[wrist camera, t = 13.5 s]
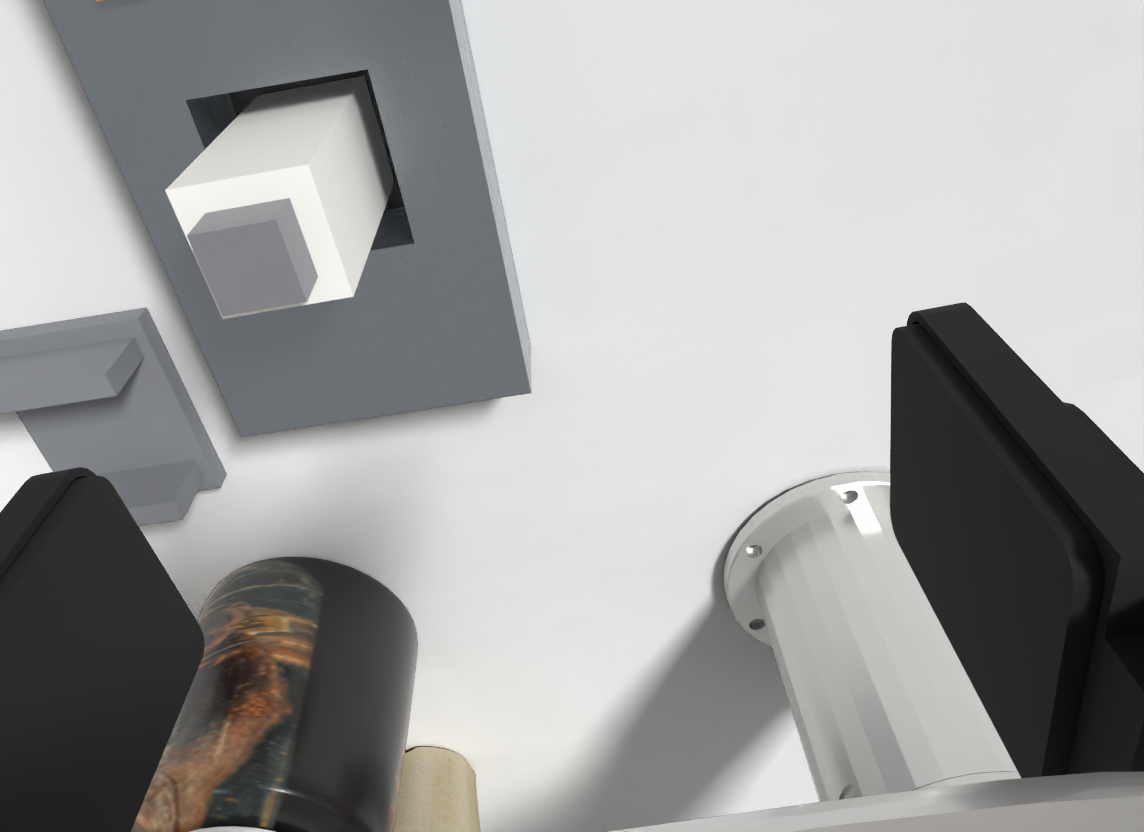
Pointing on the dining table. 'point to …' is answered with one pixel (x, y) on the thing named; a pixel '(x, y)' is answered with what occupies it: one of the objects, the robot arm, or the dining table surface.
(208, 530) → the dining table surface
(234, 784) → the jar
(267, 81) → the port block
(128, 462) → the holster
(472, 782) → the flower pot
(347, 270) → the plug
